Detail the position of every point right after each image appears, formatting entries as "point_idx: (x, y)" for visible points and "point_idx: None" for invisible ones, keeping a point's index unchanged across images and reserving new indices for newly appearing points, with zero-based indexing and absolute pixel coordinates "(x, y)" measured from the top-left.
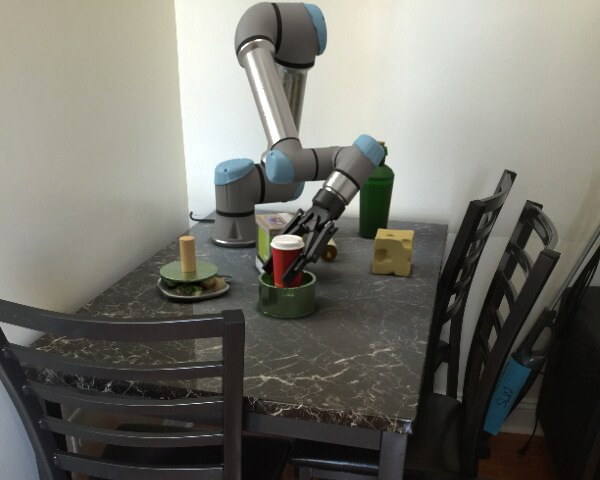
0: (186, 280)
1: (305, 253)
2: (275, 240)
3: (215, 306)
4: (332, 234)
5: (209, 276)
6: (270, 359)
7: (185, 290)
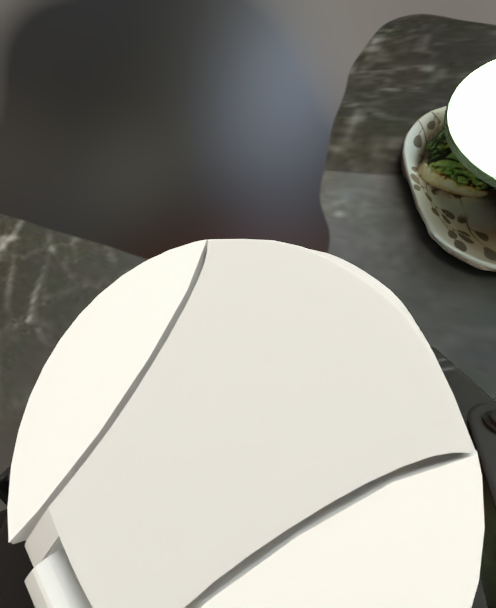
0: (447, 107)
1: (5, 527)
2: (224, 251)
3: (359, 221)
4: None
5: (476, 166)
6: (48, 266)
7: (435, 136)
